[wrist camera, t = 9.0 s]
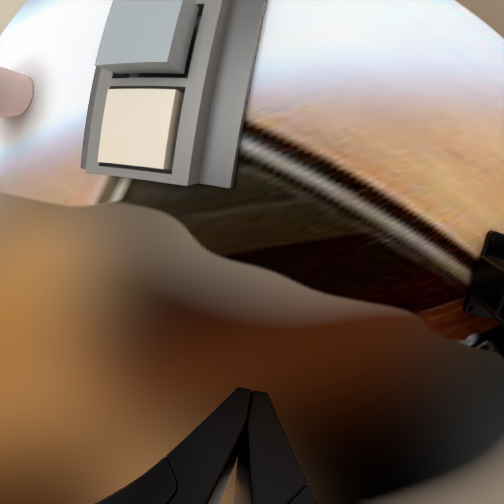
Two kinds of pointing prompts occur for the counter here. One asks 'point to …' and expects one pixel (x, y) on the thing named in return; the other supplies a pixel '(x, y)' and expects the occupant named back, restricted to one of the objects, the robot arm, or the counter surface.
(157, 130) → the key ivory
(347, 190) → the counter surface
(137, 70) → the key slate
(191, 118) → the keypad
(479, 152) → the counter surface
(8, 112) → the smoothie
